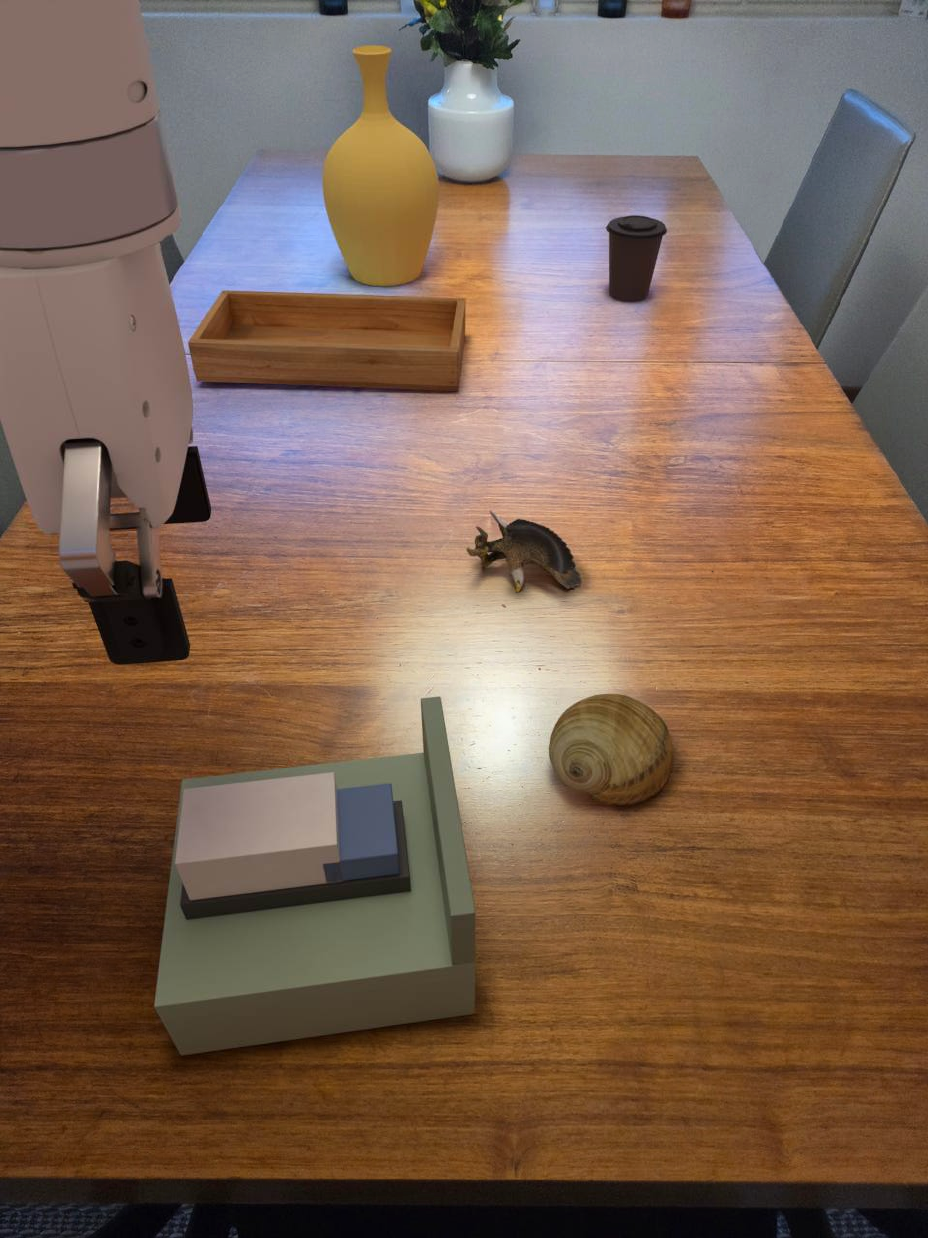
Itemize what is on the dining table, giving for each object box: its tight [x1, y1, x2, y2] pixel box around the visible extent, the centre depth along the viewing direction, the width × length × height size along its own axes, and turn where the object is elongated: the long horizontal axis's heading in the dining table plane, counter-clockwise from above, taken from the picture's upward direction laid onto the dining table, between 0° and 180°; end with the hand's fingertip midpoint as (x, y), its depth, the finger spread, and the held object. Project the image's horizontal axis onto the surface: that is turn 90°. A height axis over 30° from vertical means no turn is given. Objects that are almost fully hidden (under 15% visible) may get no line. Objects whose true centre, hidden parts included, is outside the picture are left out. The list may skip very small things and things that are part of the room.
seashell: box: [548, 693, 674, 807], centre depth 60 cm, size 10×7×8 cm
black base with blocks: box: [175, 772, 411, 920], centre depth 47 cm, size 12×5×5 cm, turn 98°
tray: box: [187, 289, 467, 392], centre depth 106 cm, size 31×15×6 cm, turn 87°
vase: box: [321, 44, 440, 287], centre depth 119 cm, size 16×16×28 cm
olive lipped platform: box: [153, 695, 477, 1056], centre depth 49 cm, size 16×14×11 cm
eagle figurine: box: [465, 509, 582, 593], centre depth 75 cm, size 8×7×9 cm
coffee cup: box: [605, 214, 668, 303], centre depth 119 cm, size 8×8×10 cm
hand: (167, 582), depth 40 cm, fingers open, 9 cm apart
